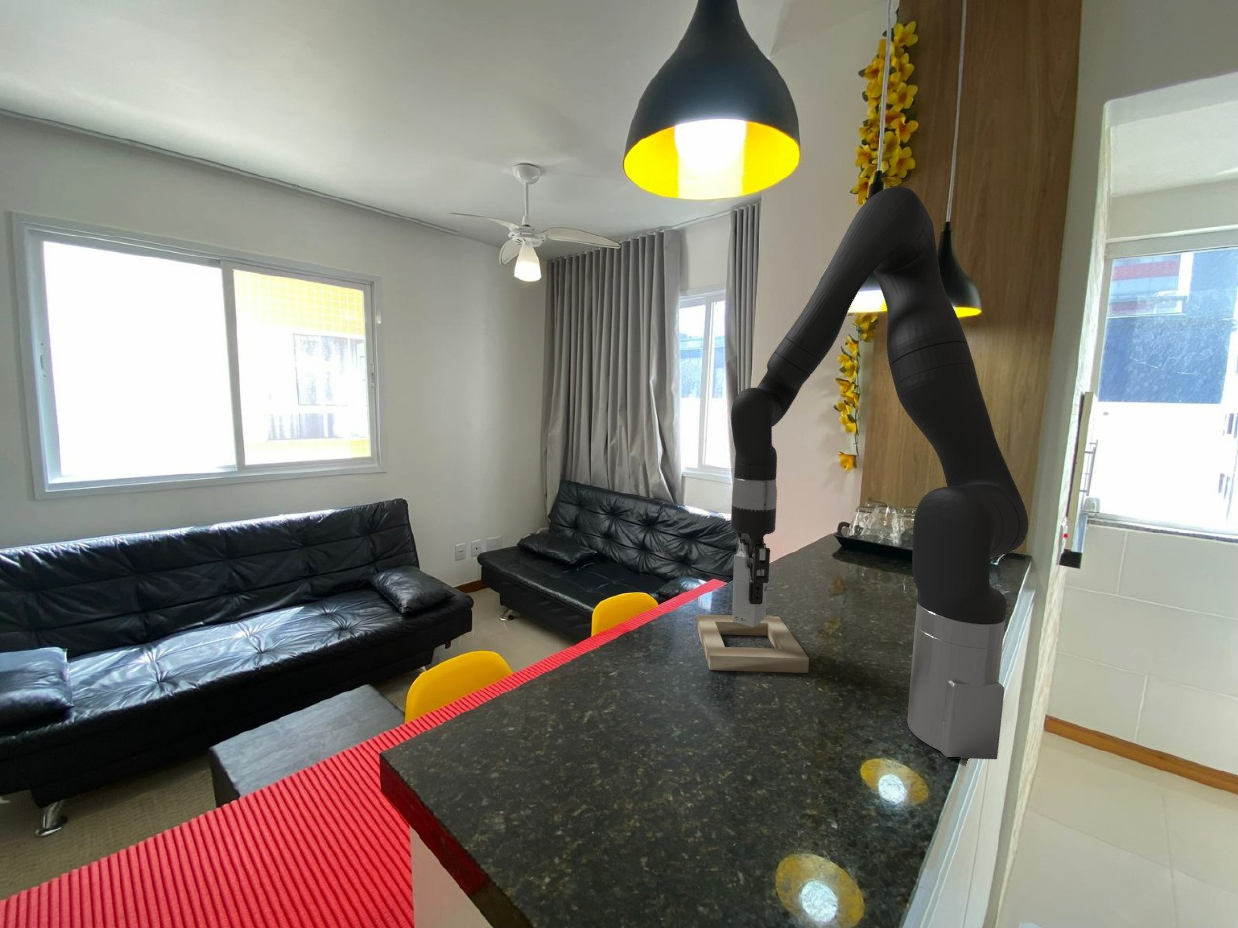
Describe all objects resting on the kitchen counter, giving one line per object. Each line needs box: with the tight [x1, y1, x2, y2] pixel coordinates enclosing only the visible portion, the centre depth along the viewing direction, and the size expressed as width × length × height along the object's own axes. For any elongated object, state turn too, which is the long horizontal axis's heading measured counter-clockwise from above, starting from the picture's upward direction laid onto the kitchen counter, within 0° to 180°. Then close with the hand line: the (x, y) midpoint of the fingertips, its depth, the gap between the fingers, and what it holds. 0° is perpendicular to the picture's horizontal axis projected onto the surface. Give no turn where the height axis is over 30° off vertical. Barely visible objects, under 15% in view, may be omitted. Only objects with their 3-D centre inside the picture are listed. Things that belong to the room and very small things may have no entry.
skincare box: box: [731, 551, 768, 627], centre depth 84 cm, size 6×4×12 cm
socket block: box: [696, 614, 810, 674], centre depth 86 cm, size 16×16×2 cm
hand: (749, 594), depth 85 cm, fingers closed on skincare box, 7 cm apart
